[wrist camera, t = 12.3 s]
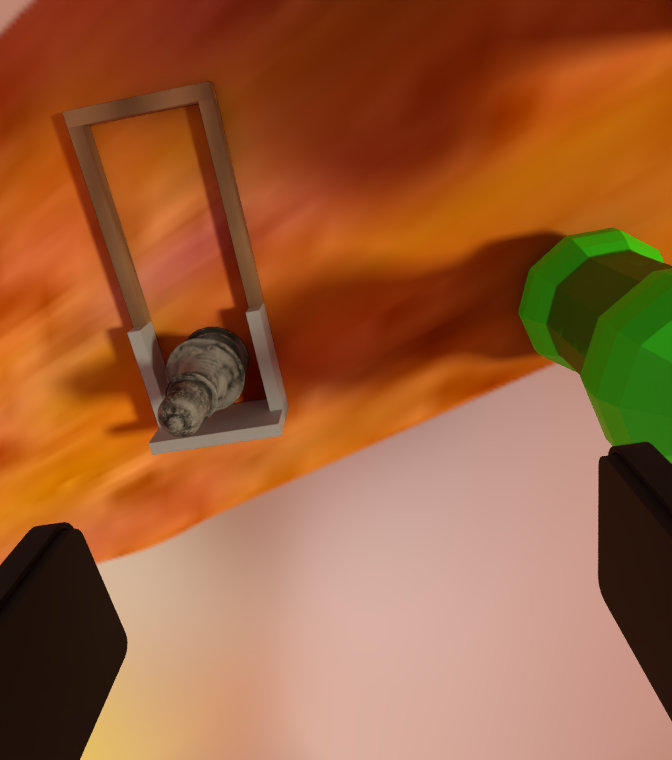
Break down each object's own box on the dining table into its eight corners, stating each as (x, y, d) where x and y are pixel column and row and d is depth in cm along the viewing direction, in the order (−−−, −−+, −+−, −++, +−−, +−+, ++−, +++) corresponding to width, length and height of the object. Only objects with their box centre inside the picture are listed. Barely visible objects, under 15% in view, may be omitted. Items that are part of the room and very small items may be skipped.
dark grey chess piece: (243, 318, 43) (206, 379, 32) (259, 387, 45) (229, 466, 34) (170, 328, 43) (109, 392, 32) (189, 396, 46) (138, 477, 35)
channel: (213, 83, 37) (208, 81, 36) (263, 301, 42) (261, 305, 41) (70, 112, 38) (62, 111, 37) (139, 322, 43) (133, 327, 42)
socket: (263, 301, 42) (253, 320, 38) (288, 406, 46) (281, 435, 41) (139, 322, 43) (113, 343, 39) (172, 424, 47) (152, 454, 42)
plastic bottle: (662, 225, 40) (1097, 335, 17) (615, 362, 44) (912, 603, 21) (524, 207, 39) (772, 293, 16) (490, 346, 43) (649, 573, 20)
